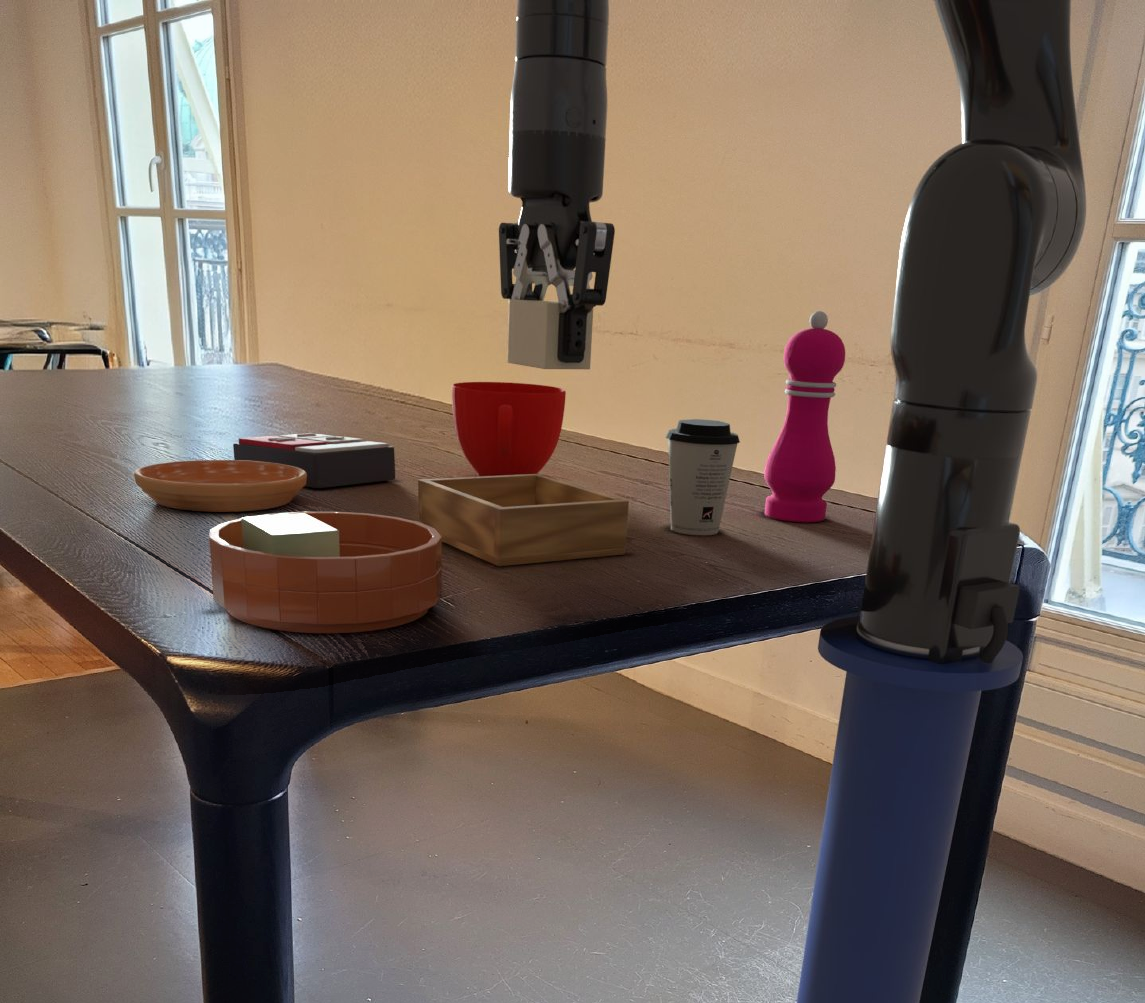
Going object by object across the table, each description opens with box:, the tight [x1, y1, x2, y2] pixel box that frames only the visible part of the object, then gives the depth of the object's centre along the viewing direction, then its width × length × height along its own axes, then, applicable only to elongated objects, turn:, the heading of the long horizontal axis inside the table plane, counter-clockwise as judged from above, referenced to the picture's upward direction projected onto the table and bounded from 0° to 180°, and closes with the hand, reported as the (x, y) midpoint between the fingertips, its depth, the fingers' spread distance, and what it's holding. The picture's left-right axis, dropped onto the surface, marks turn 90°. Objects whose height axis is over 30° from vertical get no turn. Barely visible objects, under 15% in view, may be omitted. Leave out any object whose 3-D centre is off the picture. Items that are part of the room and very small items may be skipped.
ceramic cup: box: [451, 381, 567, 477], centre depth 130 cm, size 13×17×10 cm
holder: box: [417, 473, 629, 567], centre depth 100 cm, size 15×13×5 cm
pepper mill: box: [763, 310, 846, 523], centre depth 116 cm, size 7×7×20 cm
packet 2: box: [506, 299, 594, 370], centre depth 95 cm, size 6×4×5 cm
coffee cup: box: [665, 418, 741, 536], centre depth 108 cm, size 7×7×10 cm
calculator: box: [232, 432, 396, 489], centre depth 127 cm, size 11×4×15 cm
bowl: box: [208, 511, 443, 635], centre depth 78 cm, size 15×15×5 cm
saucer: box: [133, 459, 307, 513], centre depth 111 cm, size 16×16×3 cm
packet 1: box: [240, 514, 340, 557], centre depth 77 cm, size 6×4×5 cm
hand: (548, 358), depth 96 cm, fingers closed on packet 2, 6 cm apart
